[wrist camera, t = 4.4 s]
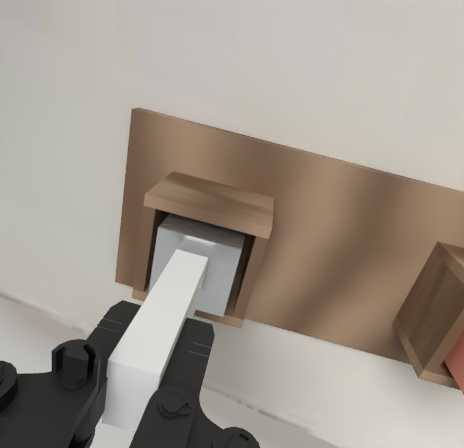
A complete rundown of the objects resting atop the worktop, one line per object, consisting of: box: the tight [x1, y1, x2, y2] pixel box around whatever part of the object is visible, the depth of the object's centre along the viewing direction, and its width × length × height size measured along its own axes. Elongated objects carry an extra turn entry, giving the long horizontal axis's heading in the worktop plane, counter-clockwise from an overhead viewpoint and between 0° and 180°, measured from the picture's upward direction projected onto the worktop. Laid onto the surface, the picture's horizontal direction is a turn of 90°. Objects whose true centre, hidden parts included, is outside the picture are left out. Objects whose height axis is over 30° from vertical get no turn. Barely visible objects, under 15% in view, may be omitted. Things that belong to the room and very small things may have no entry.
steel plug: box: [148, 213, 246, 317], centre depth 18 cm, size 4×4×5 cm
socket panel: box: [115, 108, 464, 390], centre depth 19 cm, size 28×12×6 cm, turn 77°
